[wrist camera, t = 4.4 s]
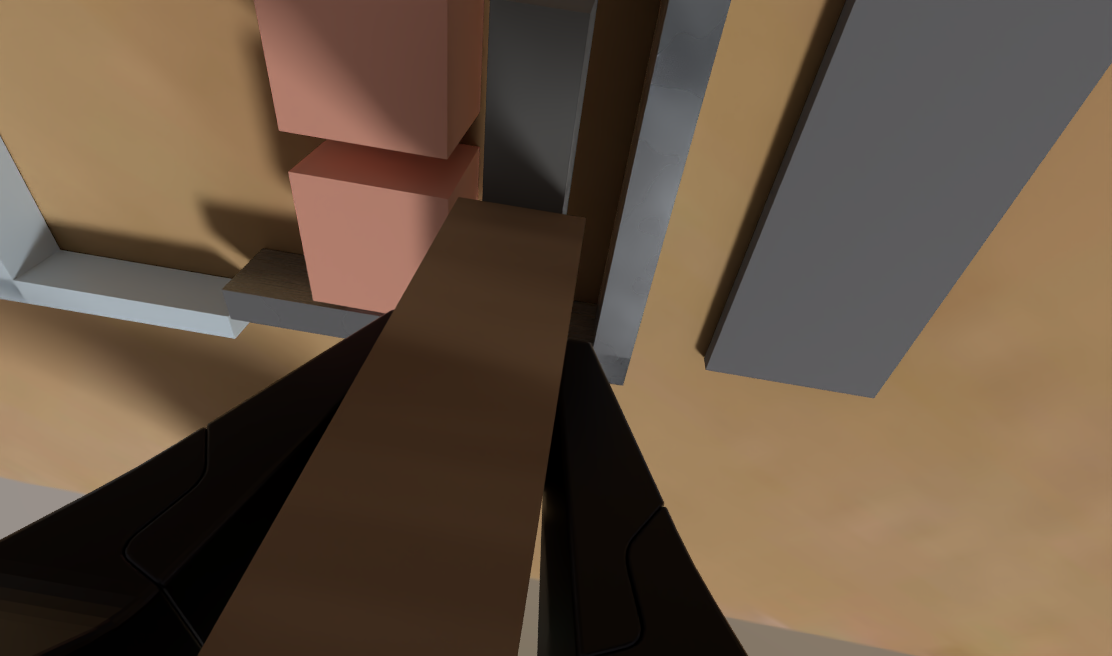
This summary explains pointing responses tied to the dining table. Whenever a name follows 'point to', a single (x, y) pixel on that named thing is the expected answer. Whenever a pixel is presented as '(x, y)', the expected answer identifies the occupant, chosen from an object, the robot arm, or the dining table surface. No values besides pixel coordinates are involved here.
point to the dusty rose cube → (375, 70)
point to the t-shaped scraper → (445, 402)
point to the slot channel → (640, 224)
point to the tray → (98, 274)
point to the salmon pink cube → (374, 217)
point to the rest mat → (901, 178)
